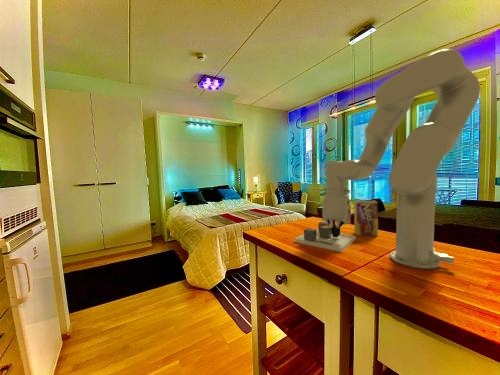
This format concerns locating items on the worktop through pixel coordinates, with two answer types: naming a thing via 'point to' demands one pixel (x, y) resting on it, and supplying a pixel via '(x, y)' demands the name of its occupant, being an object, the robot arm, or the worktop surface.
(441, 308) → the worktop surface
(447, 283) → the worktop surface
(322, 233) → the block
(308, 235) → the block
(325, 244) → the panel
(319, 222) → the block
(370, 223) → the candy box
